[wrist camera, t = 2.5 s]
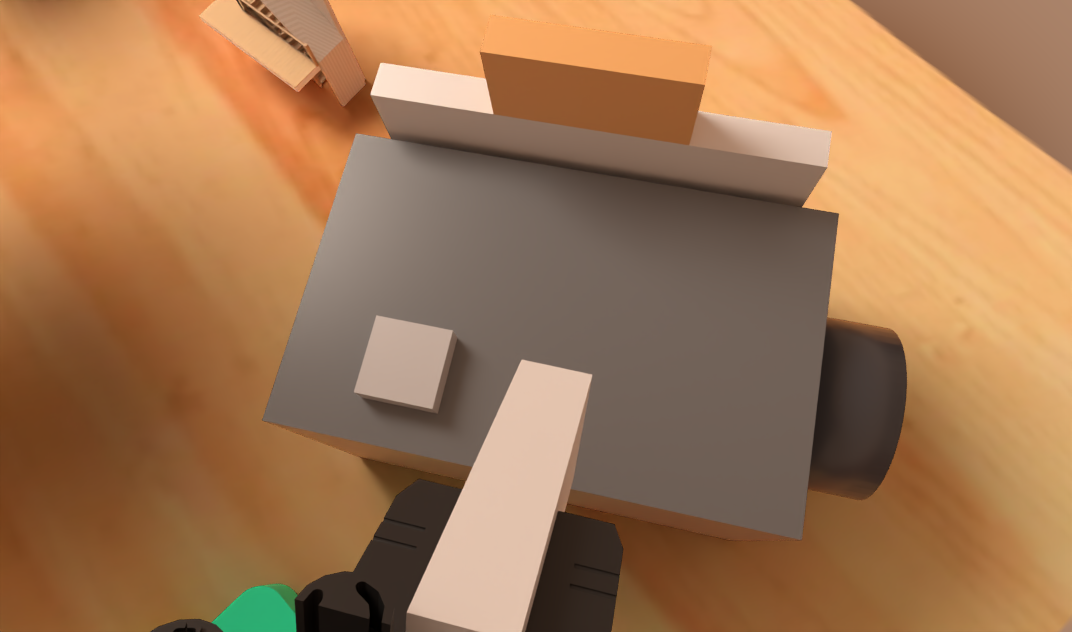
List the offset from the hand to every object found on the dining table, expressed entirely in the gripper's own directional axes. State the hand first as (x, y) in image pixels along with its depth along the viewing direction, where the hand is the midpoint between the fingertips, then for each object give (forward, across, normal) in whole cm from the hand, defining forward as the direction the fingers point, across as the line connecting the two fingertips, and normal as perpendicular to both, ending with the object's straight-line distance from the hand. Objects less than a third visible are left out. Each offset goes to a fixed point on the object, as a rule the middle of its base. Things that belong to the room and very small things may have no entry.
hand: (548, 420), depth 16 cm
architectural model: (+24, -17, +1) cm, 30 cm away
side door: (+18, -1, -3) cm, 18 cm away
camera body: (+14, 0, -8) cm, 16 cm away
